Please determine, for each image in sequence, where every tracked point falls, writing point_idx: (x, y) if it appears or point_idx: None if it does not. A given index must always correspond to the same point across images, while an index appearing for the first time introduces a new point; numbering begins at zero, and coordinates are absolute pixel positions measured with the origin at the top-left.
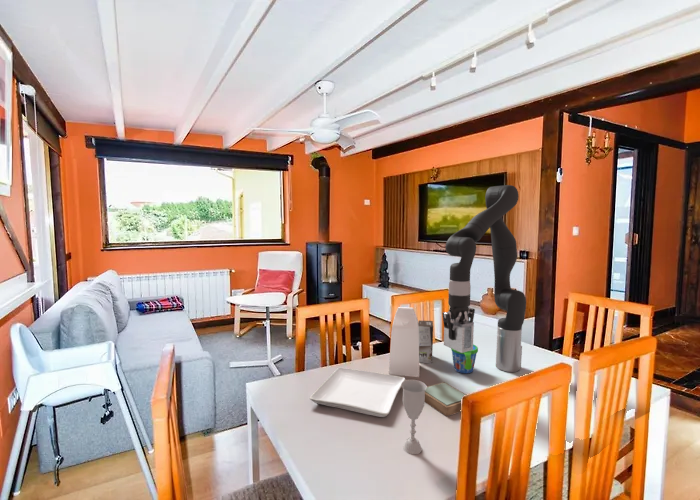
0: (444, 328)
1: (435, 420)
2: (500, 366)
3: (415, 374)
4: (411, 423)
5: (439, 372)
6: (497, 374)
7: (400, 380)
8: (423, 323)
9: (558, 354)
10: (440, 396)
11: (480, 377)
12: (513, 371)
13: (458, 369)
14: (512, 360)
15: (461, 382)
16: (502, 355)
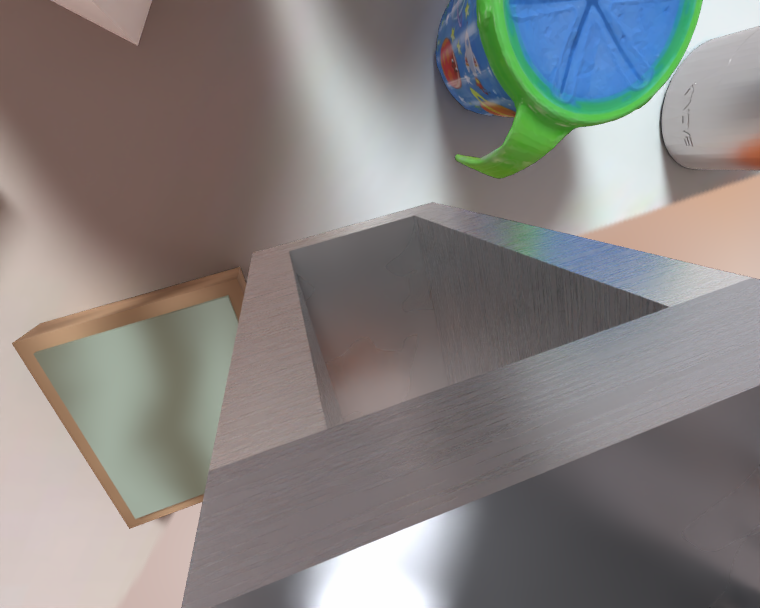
0: (241, 354)
1: (75, 518)
2: (678, 120)
3: (100, 24)
4: None
5: (321, 24)
6: (609, 167)
7: None
8: None
9: None
10: (133, 445)
11: (512, 176)
12: (691, 168)
13: (444, 75)
14: (749, 166)
15: (382, 206)
16: (750, 123)
